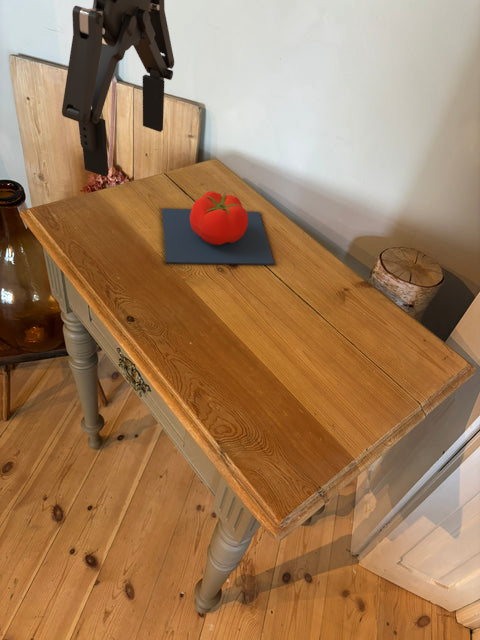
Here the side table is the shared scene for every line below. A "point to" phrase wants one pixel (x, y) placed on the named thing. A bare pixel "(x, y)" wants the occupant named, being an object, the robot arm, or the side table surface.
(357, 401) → the side table surface
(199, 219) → the tomato
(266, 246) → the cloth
